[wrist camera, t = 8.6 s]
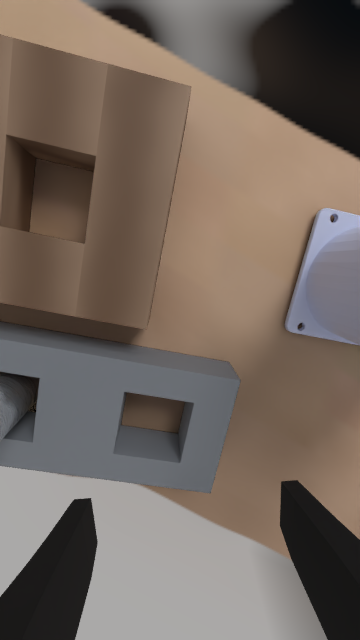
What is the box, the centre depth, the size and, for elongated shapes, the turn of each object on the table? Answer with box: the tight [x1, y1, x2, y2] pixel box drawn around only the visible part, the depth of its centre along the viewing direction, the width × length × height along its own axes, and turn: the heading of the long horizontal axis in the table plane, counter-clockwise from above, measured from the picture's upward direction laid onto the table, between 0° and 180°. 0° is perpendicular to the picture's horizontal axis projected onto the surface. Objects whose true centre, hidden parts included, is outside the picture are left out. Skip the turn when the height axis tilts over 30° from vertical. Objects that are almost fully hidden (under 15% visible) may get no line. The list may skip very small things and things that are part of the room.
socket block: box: [0, 35, 191, 330], centre depth 15 cm, size 12×12×3 cm
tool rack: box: [0, 321, 241, 493], centre depth 18 cm, size 18×8×3 cm, turn 78°
